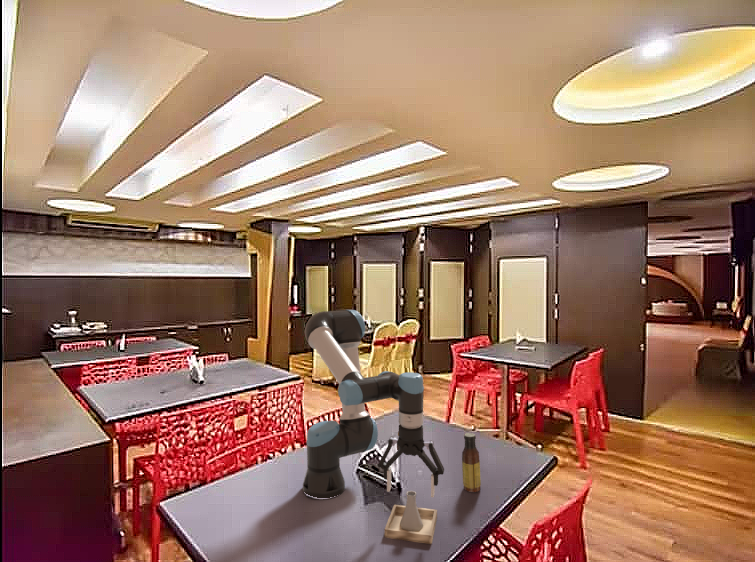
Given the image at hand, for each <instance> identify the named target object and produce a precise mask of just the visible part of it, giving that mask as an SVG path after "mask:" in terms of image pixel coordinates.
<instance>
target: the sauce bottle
mask: <svg viewBox="0 0 755 562" xmlns="http://www.w3.org/2000/svg"><path fill="white" fill-rule="evenodd" d="M476 437H477V436H476V434H475V433H472V432H466V433H464V435H463V438H464V448H463V450H462V452H461V453H462V454H461V460H462V461H461V462H462V464H461V465H462V466H461V469H462V485H463V489H464V490H465V491H466V492H468V493H478V492H480V490H481V485H482V484H481V483H482V482H481V481H482V480H481V466H480V465H481V463H480V462H481V461H480V452H479V450H478V447H477V446H476Z"/></svg>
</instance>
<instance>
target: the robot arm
mask: <svg viewBox="0 0 755 562" xmlns="http://www.w3.org/2000/svg"><path fill="white" fill-rule="evenodd" d="M365 334H366V324H365V320H364V317H363V316H362V315H361V313H360V312H359V311H358V310H355V309H341V310H339V309H338V310H329V311H328V310H324V311H319V312H316V313H314V315H311V316H310V318H309V319H308V321H307V322H306V324H305V328H304V336H305V339H306V342H307V344H308V345H309V347H311V349H313V350H316V352H317V354H318V355H319V356H320V358H321V360H322V361H323V362H324V364H325V365H326V367H327V368H328V370H329V372H331V375H333V377H334V378H335V380H336V381H337V384H338V388H337V394H338V397H339V401H340V402H341V409H342V413H341V415H340V417H339V422H338V421H336V420H328V421H327V420H323V421H319V422H316V423H314V424H313V425H311V426H310V427H309V429H308V430H307V433H306V442H305V443H306V459H307V460H306V461H307V470H306V472H305V476H304V479H303V482H302V492H303V491H304V492H305V493H306V494H308V495H310V496H313V497H317V498H330V497H334V496H336V497H338V496H340V495H341V494H343V493H344V491H345V489H346V488H345V487H346V486H345V485H346V481H345V478H344V475H343V473H342V470H341V467H340V464H341V463H340V461H341V458H345V457H347V456H353V455H357V454H360V453H365V452H367V451H371V450H372V449H373V448H375V446H376V445H377V443H378V438H379V436H378V435H379V430H378V424H377V423H376V420H375V419H374V418H373V417H371V415H370V413H369V412H368V411H367V410H366V407H365V403H371V402H375V401H376V402H377V401H382V400H387V399H393V400H395V401H397V402H398V431H399V436H398V438H395V437H394V436H390V437H389V439H388V440H387V447H386V449H385V451H384V452H383V453H382V457H381V458H380V460H379V462H378V465H377V467H378V468H382V469H383V479H384V480H386V492H389V493H390V491H391V489H392V465H393V464H394V463H395V462H396V460H397V459H398V458H399V457H400V456H401V455H403V454H404V455H405V456H412V457H416V456H417V457H418V458H419V459H421V461H422V462H423V463H424V465H425V466H426V467H427V468H428V469H429V471H430V472H431V476H430V498H434V497H435V492H436V491H435V487H437V486H438V485H439V476H440V475H442V476H443V475H444V473H445V467H444V465H443V463H442V461H441V459H440V457H439V454H438V453H437V450H436V448H435V444H434V442H435V441H434V440H429V441H425V440H424V425H423V424H424V390H425V387H424V378H423V376H422V375H421V374H420V373H418V372H411V371H410V372H408V371H407V372H402V373H400V374H397V373H396V372H393V371H388V370H384V371H382V372H380V373H379V374H377V375H375V376H373V375H372V376H368V377H364V375H363V374H362V371H361V363H360V356H359V346H360V344H361V343H362V338H363V337H364V336H365ZM396 444H397V446H398V450H397V451H395V453H394V454H393V455H392V456H391V457H390V458H389V459H388V460H387V462H385V460H386V459H387V457H388V455H389V453H390V451H391V449H392V447H394V446H395V445H396ZM425 447H426V449H427V450H428V451H429V454H430V456H431V458H432V459H433V461H432V460H431V459H430V457H429V456H428V455H427V453H426V452H425V449H424V448H425ZM339 494H340V495H339ZM337 495H338V496H337ZM334 498H335V497H334ZM330 499H331V498H330Z"/></svg>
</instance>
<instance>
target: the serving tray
mask: <svg viewBox="0 0 755 562" xmlns="http://www.w3.org/2000/svg"><path fill="white" fill-rule="evenodd" d="M405 507H406V505H401V504H394V505H393V506H392V509H391V511H390V515H389V517H388V519H387V522H386V523H385V526H384V527H385V528H384V529H383V530H384V538H386V539H391V540H398V541H399V540H400V541H405V542H412V543H420V544H428V545H433V540H434V537H435V536H434V535H435V531H436V525H437V521H438V509H432V508H425V507H418V506H417V508H418V512H419V515H420V517H421V520H422V523H423V527H422V528H421V529H420V531H407V530H404V529H402V528H401V525H400V522H401V519H402V516H403V514H404V510H405Z"/></svg>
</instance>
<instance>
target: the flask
mask: <svg viewBox="0 0 755 562" xmlns="http://www.w3.org/2000/svg"><path fill="white" fill-rule="evenodd" d="M405 495H406V503H405V506H406V507H405V510H404V514H403V516H402V519H401V522H400V525H401V528H402V529H404V530H407V531H420V529H421V528H422V527H423V523H422V520H421V517H420V515H419V512H418V508H419V507H418V506H417V500H416V497H417V492H416V491H414V490H408V491H406V493H405ZM417 507H418V508H417Z"/></svg>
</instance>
